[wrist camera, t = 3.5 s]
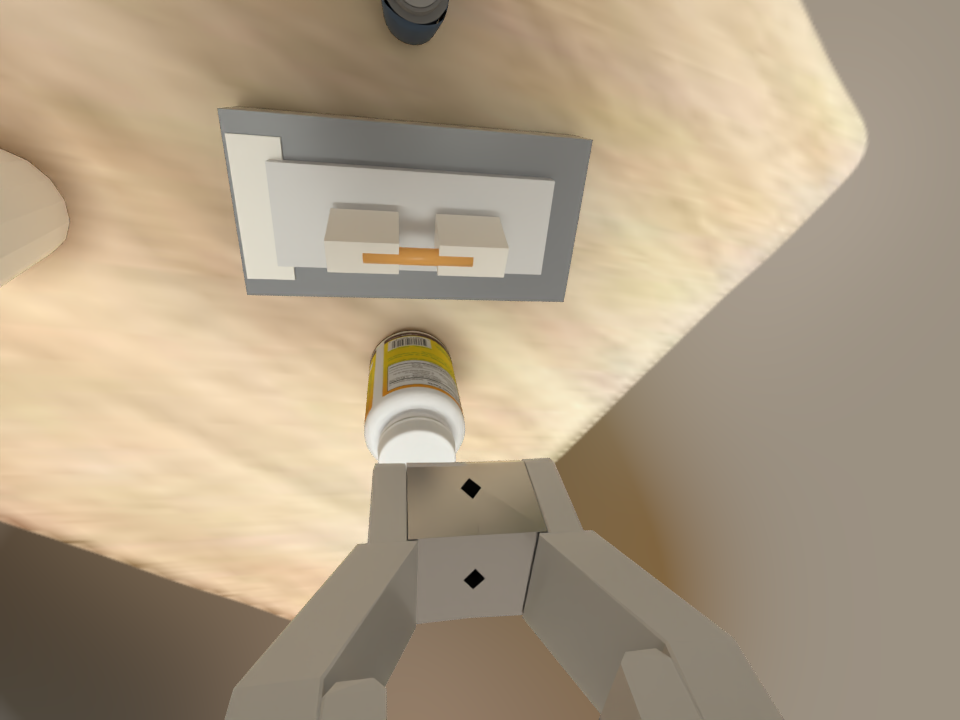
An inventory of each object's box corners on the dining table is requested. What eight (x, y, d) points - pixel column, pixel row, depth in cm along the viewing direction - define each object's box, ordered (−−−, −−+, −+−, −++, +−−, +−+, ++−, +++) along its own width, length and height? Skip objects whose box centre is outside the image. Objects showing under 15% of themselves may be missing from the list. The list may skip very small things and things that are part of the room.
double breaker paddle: (330, 208, 23) (323, 241, 20) (499, 217, 24) (509, 249, 22) (333, 238, 24) (327, 273, 22) (494, 245, 25) (504, 278, 23)
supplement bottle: (407, 410, 35) (411, 518, 26) (352, 361, 32) (336, 463, 23) (467, 365, 34) (493, 462, 25) (415, 310, 31) (423, 397, 22)
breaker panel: (236, 106, 24) (209, 108, 21) (574, 135, 27) (599, 141, 24) (260, 276, 28) (242, 301, 25) (549, 284, 32) (568, 308, 28)
